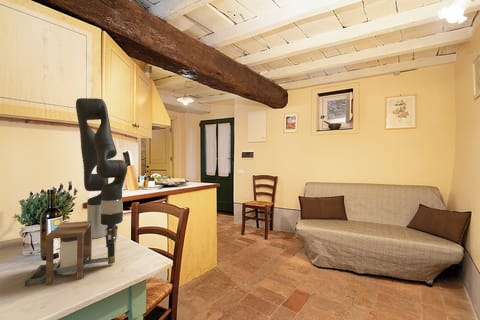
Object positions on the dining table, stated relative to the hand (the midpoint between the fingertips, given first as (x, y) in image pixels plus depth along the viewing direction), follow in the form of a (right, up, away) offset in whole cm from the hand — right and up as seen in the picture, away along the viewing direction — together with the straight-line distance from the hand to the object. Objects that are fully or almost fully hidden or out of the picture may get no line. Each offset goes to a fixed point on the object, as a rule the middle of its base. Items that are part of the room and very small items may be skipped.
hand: (111, 254), depth 89 cm
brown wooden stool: (-12, -4, -5) cm, 14 cm away
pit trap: (-20, -4, -8) cm, 22 cm away
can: (-12, -4, -5) cm, 14 cm away
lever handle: (-8, -3, -3) cm, 9 cm away
